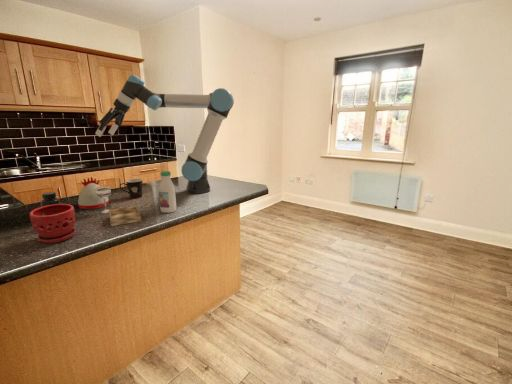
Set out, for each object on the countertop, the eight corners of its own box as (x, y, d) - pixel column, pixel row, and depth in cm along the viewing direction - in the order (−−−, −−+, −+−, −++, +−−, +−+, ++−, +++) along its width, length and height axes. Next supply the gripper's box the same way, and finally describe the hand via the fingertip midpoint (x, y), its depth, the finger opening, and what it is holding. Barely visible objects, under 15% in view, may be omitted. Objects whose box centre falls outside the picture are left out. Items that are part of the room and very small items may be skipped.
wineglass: (99, 209, 129) (95, 186, 125) (114, 208, 131) (111, 185, 128) (97, 214, 123) (93, 190, 119) (113, 212, 125) (109, 189, 122)
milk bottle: (172, 207, 135) (169, 169, 129) (179, 210, 129) (176, 172, 124) (157, 210, 129) (154, 171, 124) (164, 214, 124) (161, 174, 119)
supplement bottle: (48, 222, 113) (42, 196, 109) (41, 219, 116) (35, 193, 113) (65, 217, 118) (60, 192, 115) (59, 214, 122) (54, 190, 118)
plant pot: (27, 242, 94) (20, 212, 91) (64, 229, 106) (58, 201, 103) (51, 249, 90) (43, 217, 87) (86, 234, 102) (81, 205, 98)
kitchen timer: (75, 204, 136) (70, 177, 132) (104, 199, 146) (100, 173, 142) (83, 210, 127) (78, 181, 123) (112, 204, 137) (108, 177, 133)
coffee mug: (146, 195, 155) (145, 179, 152) (139, 199, 146) (137, 182, 144) (128, 194, 156) (126, 178, 153) (120, 198, 147) (117, 181, 145)
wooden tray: (137, 212, 125) (136, 206, 124) (141, 220, 116) (140, 213, 115) (109, 217, 119) (108, 210, 118) (111, 226, 110) (110, 218, 109)
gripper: (127, 99, 148) (109, 129, 152) (105, 95, 124) (84, 131, 128) (138, 107, 150) (120, 137, 154) (119, 105, 126) (98, 140, 130)
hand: (104, 134), depth 141 cm, fingers open, 13 cm apart
